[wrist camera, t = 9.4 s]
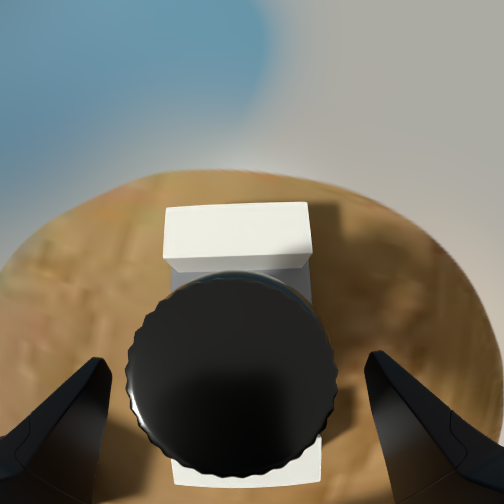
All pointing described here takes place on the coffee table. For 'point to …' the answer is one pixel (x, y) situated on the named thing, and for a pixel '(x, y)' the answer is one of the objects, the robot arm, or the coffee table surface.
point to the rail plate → (251, 259)
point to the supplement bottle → (232, 374)
